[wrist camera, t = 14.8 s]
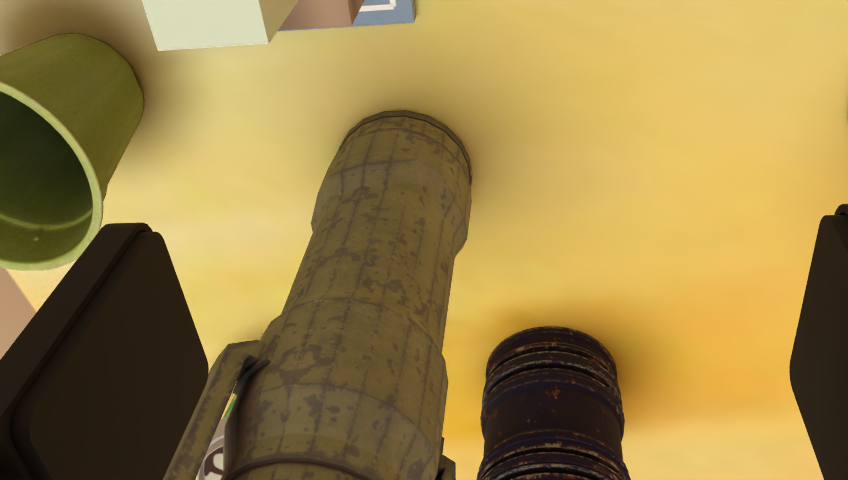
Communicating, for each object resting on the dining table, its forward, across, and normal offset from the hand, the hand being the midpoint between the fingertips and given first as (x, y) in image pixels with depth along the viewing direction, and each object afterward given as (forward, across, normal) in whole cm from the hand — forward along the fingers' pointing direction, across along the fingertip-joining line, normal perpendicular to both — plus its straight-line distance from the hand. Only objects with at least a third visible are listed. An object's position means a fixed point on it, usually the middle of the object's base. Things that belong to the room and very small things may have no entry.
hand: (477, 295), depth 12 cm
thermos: (+34, +8, +18) cm, 40 cm away
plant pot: (+34, +27, +11) cm, 45 cm away
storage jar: (+34, -1, +36) cm, 50 cm away
